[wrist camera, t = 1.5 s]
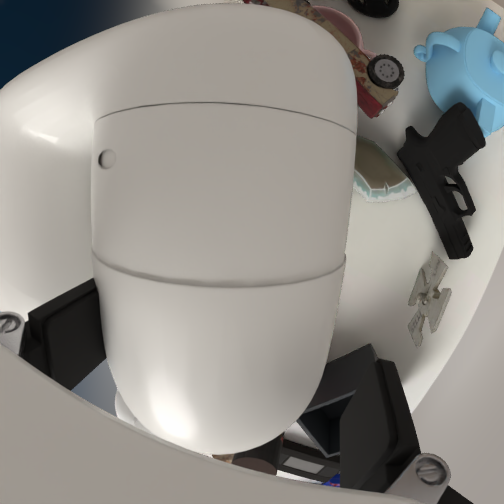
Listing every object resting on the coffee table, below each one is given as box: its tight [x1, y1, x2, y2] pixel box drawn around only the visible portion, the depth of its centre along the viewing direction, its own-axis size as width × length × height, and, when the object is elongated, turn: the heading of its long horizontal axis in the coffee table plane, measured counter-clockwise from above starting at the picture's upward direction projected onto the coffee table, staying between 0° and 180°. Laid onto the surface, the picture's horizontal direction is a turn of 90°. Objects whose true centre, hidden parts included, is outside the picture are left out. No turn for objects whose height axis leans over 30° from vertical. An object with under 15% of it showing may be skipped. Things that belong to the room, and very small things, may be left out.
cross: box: [408, 251, 452, 348], centre depth 32 cm, size 10×3×10 cm, turn 169°
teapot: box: [414, 8, 504, 138], centre depth 23 cm, size 20×17×12 cm
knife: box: [353, 135, 418, 202], centre depth 34 cm, size 3×7×30 cm
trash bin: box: [296, 343, 378, 458], centre depth 38 cm, size 11×12×9 cm
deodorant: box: [231, 431, 285, 476], centre depth 38 cm, size 6×6×15 cm
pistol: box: [397, 102, 486, 259], centre depth 27 cm, size 3×17×12 cm, turn 34°
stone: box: [212, 453, 235, 464], centre depth 50 cm, size 9×6×3 cm
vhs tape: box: [277, 439, 340, 483], centre depth 47 cm, size 8×14×2 cm, turn 68°
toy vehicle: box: [243, 0, 404, 119], centre depth 24 cm, size 7×18×8 cm
